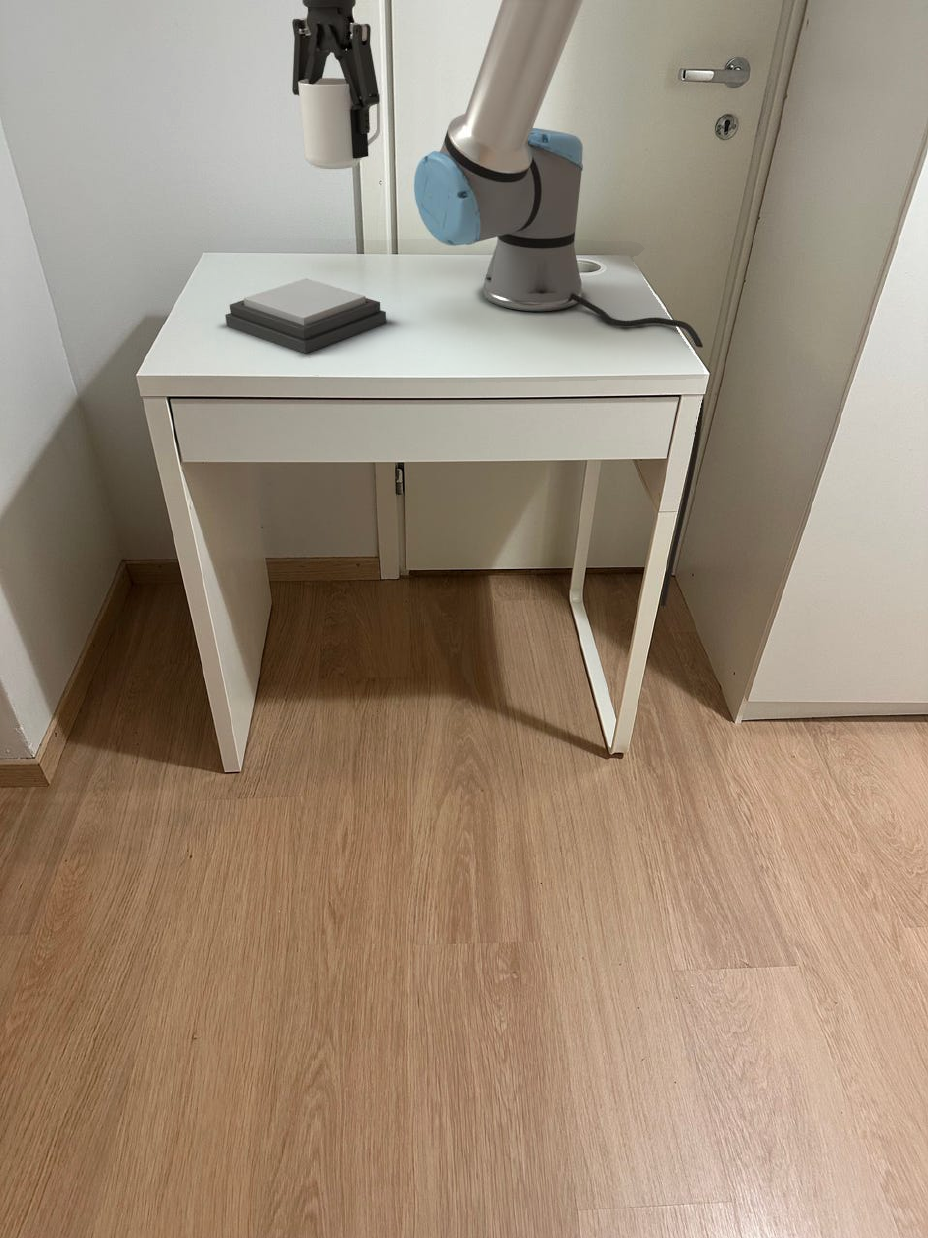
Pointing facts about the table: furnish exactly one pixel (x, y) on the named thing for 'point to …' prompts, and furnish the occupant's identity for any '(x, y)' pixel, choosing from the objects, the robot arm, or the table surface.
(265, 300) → the light grey square tile
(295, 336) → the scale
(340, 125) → the mug
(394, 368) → the table surface
